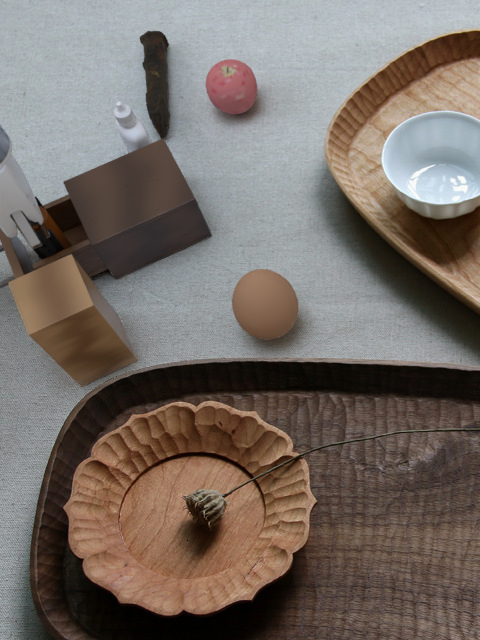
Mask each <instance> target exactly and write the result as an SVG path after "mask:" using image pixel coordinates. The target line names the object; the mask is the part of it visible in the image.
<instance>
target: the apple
mask: <svg viewBox="0 0 480 640" xmlns="http://www.w3.org/2000/svg"><path fill="white" fill-rule="evenodd" d="M205 90H206V94H207V96H208V99H209V101H210V102H211V103H212V105H214V107H216V108H217V109H218V110H220V111H221V112H223V113H226V114H228V115H240V114H243V113H246V112H247V111H248V110H250V109H251V108H252V106H253V105H254V103H255V102H256V98H257V94H258V83H257V79H256V75H255V74H254V71H253V70H252V68H251V67H250V66H249V65H248V64H247V63H246V62H243V61H241V60H238V59H232V58H231V59H229V58H228V59H223V60H220V61H218V62H217V63H215V64H214V65H213V66H211V68H210V70H209V71H207V75H206V77H205Z"/></svg>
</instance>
